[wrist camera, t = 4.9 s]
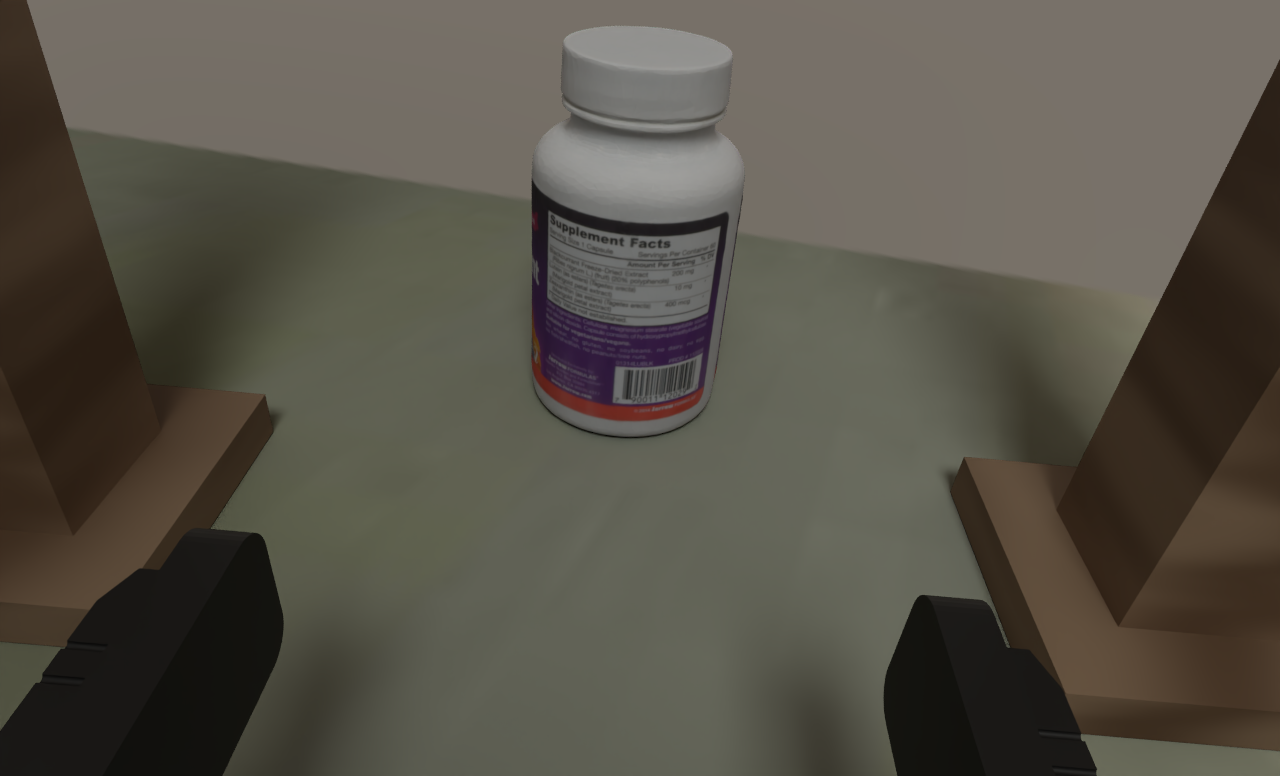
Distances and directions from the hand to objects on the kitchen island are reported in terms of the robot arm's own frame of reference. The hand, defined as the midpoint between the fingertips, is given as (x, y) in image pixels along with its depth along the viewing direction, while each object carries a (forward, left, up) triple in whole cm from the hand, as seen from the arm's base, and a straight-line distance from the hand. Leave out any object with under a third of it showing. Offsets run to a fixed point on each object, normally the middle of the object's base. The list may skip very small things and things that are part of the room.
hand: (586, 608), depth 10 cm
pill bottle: (-7, +12, -6) cm, 15 cm away
